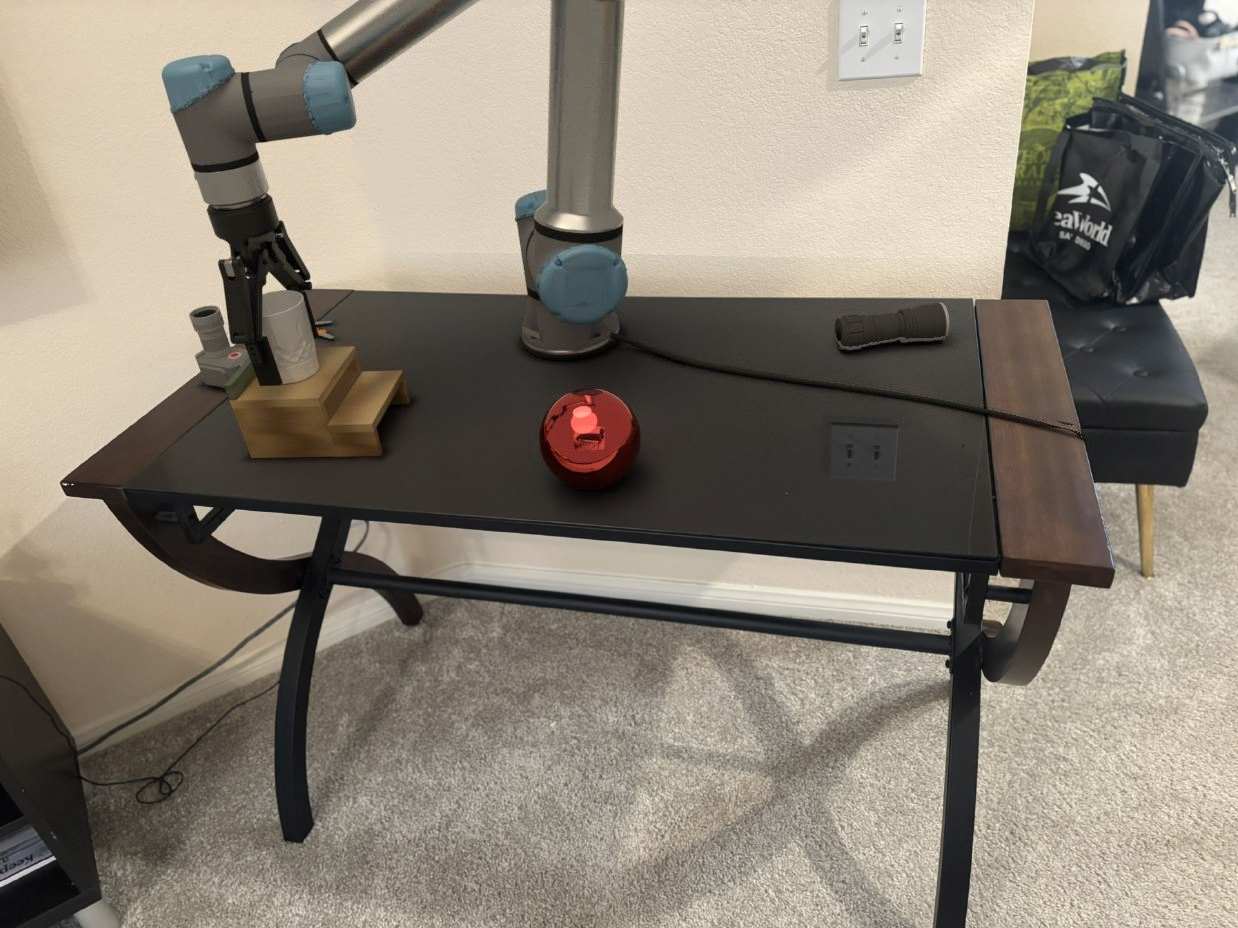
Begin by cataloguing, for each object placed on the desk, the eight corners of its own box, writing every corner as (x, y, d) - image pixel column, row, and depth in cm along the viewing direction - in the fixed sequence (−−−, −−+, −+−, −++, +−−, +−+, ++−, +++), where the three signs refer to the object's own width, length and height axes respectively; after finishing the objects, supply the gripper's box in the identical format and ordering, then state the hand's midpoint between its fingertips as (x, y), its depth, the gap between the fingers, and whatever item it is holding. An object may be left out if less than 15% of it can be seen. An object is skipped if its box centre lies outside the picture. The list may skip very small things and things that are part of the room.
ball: (659, 462, 112) (654, 377, 105) (617, 519, 104) (608, 430, 97) (574, 445, 117) (563, 363, 110) (527, 498, 108) (513, 412, 101)
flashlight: (841, 359, 129) (843, 325, 126) (830, 342, 134) (832, 309, 131) (947, 346, 130) (951, 312, 127) (933, 330, 134) (937, 296, 131)
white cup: (335, 360, 122) (315, 291, 117) (301, 389, 116) (278, 318, 111) (287, 355, 125) (265, 288, 119) (251, 384, 119) (226, 314, 113)
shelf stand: (410, 400, 130) (393, 330, 124) (380, 456, 119) (359, 381, 112) (291, 403, 132) (268, 334, 126) (251, 458, 121) (223, 385, 114)
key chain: (259, 343, 150) (257, 339, 149) (277, 323, 155) (275, 319, 155) (332, 341, 148) (331, 337, 147) (348, 321, 154) (346, 317, 153)
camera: (208, 297, 137) (287, 308, 132) (232, 365, 144) (308, 378, 139) (165, 322, 131) (246, 334, 126) (192, 392, 138) (270, 407, 132)
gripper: (251, 169, 118) (298, 319, 130) (156, 239, 98) (223, 409, 110) (306, 165, 117) (348, 318, 129) (221, 235, 97) (281, 407, 109)
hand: (290, 360), depth 120 cm, fingers open, 12 cm apart
